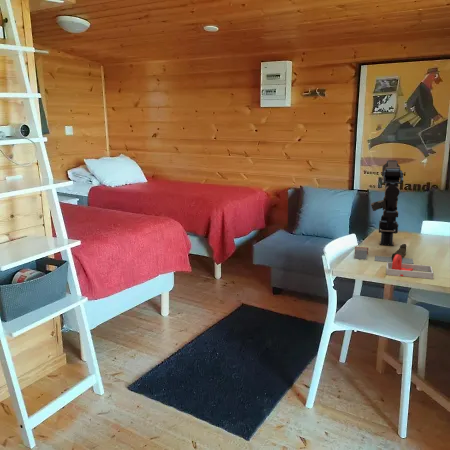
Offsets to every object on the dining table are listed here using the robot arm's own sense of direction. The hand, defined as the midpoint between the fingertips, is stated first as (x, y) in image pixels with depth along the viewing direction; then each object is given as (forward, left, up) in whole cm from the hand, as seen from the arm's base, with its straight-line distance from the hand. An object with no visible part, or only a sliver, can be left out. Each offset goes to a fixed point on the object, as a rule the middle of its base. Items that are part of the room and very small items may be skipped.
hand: (388, 228), depth 205 cm
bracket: (+27, +6, -13) cm, 31 cm away
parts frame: (+28, +8, -12) cm, 32 cm away
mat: (+11, +3, -12) cm, 16 cm away
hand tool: (+6, +5, -12) cm, 14 cm away
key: (+9, -11, -11) cm, 19 cm away
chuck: (+11, -11, -12) cm, 20 cm away
